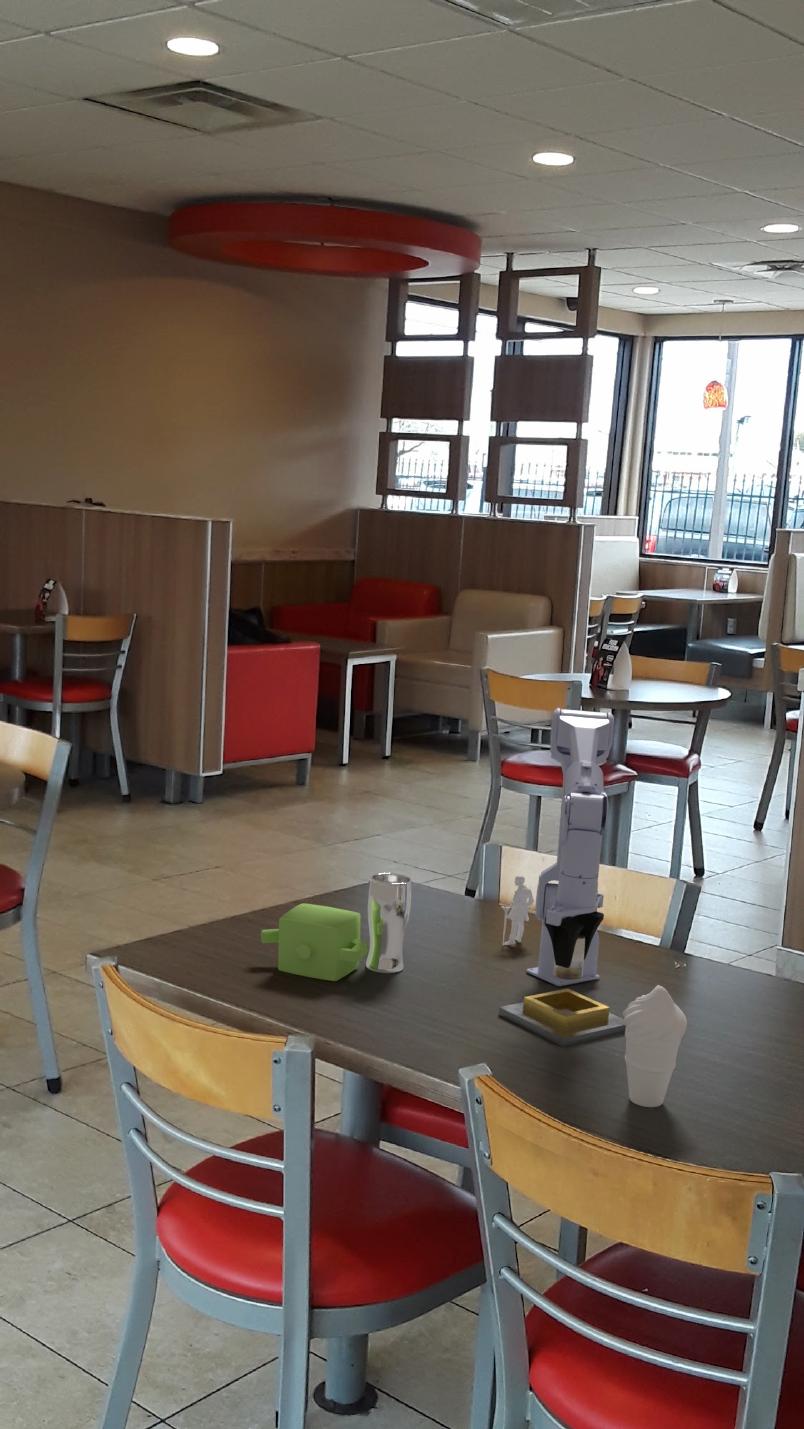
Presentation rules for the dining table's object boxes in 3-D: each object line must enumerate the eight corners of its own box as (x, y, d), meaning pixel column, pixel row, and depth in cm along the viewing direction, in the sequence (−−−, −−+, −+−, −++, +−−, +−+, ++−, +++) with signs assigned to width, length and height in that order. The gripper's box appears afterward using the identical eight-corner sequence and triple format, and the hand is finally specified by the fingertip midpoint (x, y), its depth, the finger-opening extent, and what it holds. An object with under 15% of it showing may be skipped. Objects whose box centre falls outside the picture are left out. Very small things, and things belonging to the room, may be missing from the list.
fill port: (566, 1000, 223) (568, 981, 222) (631, 1030, 212) (633, 1010, 211) (498, 1014, 214) (500, 994, 214) (562, 1046, 203) (564, 1025, 203)
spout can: (561, 968, 215) (564, 919, 214) (587, 974, 213) (591, 925, 212) (547, 975, 211) (551, 925, 210) (574, 981, 209) (577, 931, 208)
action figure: (518, 937, 254) (524, 872, 252) (533, 943, 251) (539, 877, 249) (493, 943, 249) (499, 876, 248) (508, 948, 247) (514, 881, 245)
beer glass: (401, 976, 228) (408, 886, 226) (358, 971, 229) (365, 880, 227) (409, 963, 235) (416, 875, 232) (368, 958, 236) (374, 870, 234)
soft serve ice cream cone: (607, 1086, 190) (619, 971, 188) (668, 1088, 191) (681, 974, 189) (622, 1113, 182) (635, 993, 180) (686, 1115, 183) (699, 996, 180)
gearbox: (246, 970, 227) (247, 913, 225) (276, 951, 236) (277, 897, 234) (349, 991, 220) (350, 932, 218) (375, 970, 229) (377, 914, 227)
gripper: (577, 859, 218) (569, 945, 220) (531, 876, 206) (522, 966, 208) (619, 869, 214) (610, 956, 216) (574, 886, 202) (565, 978, 204)
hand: (570, 962), depth 212 cm, fingers closed on spout can, 4 cm apart
